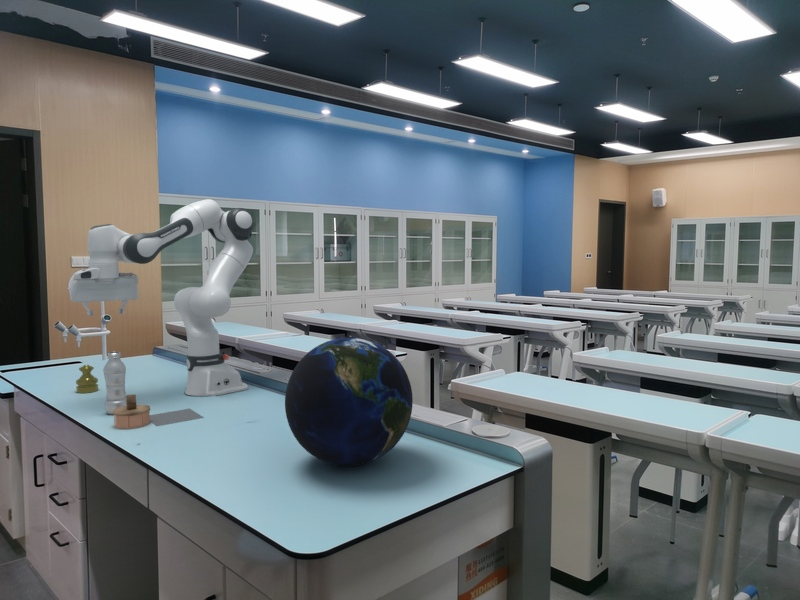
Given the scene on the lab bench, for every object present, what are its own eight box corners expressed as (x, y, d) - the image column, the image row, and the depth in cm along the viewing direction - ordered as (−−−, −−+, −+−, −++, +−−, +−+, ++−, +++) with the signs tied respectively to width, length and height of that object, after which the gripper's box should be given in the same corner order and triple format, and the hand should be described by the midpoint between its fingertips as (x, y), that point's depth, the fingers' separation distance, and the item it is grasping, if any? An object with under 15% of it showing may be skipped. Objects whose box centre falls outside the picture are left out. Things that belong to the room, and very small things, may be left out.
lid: (144, 405, 176) (144, 390, 176) (154, 411, 169) (153, 395, 168) (109, 411, 170) (108, 395, 170) (117, 418, 162) (116, 401, 162)
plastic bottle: (133, 412, 185) (130, 351, 183) (114, 418, 179) (111, 354, 177) (119, 410, 187) (116, 350, 186) (100, 415, 181) (97, 353, 180)
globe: (304, 496, 118) (300, 351, 115) (275, 452, 145) (271, 334, 143) (435, 473, 129) (434, 341, 127) (385, 436, 157) (383, 327, 155)
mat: (189, 410, 187) (189, 408, 187) (204, 419, 176) (204, 417, 176) (144, 418, 178) (144, 416, 178) (156, 428, 167) (156, 426, 167)
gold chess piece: (86, 394, 212) (84, 367, 211) (71, 392, 215) (70, 366, 214) (103, 389, 219) (101, 363, 218) (88, 388, 221) (87, 362, 221)
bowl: (144, 420, 176) (143, 405, 176) (152, 426, 169) (151, 411, 169) (112, 425, 170) (111, 411, 170) (119, 432, 163) (118, 417, 163)
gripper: (135, 272, 199) (137, 311, 200) (68, 273, 186) (70, 316, 187) (139, 272, 194) (141, 313, 195) (71, 274, 182) (73, 317, 182)
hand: (106, 314), depth 191 cm, fingers open, 8 cm apart
